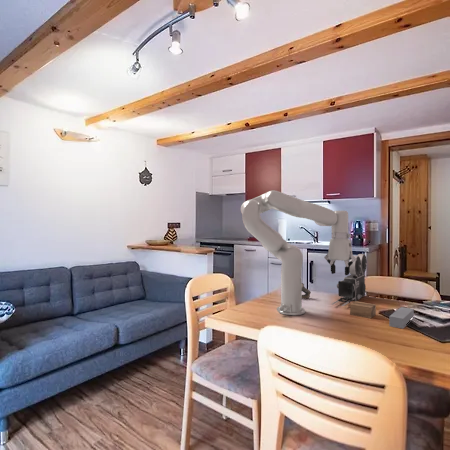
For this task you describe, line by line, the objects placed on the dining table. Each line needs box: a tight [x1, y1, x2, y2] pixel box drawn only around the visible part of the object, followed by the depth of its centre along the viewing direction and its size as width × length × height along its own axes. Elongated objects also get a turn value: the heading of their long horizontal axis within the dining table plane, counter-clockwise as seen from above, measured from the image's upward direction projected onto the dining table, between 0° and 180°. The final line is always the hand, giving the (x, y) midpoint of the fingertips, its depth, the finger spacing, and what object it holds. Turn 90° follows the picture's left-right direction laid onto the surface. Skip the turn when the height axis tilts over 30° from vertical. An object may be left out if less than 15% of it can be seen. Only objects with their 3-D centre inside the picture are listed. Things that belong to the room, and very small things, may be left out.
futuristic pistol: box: [302, 282, 311, 299], centre depth 177 cm, size 2×15×10 cm, turn 82°
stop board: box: [388, 306, 415, 330], centre depth 134 cm, size 18×5×4 cm, turn 138°
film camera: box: [331, 253, 368, 307], centre depth 172 cm, size 40×12×24 cm, turn 141°
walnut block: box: [349, 300, 377, 319], centre depth 145 cm, size 7×9×5 cm
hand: (340, 273), depth 152 cm, fingers open, 5 cm apart
